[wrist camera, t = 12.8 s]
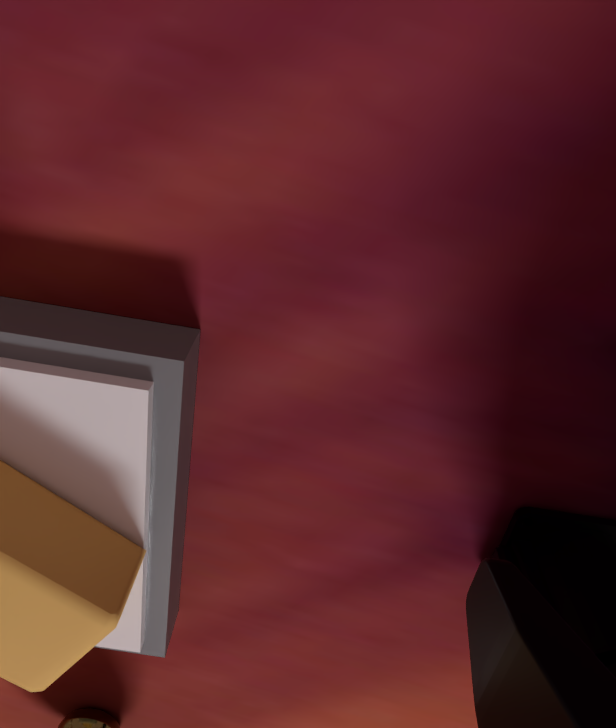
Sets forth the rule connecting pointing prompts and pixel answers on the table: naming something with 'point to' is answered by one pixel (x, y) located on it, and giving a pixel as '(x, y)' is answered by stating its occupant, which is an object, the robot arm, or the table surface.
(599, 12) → the table surface
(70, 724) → the cup
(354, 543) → the table surface
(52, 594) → the rubber stamp
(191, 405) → the dial scale
